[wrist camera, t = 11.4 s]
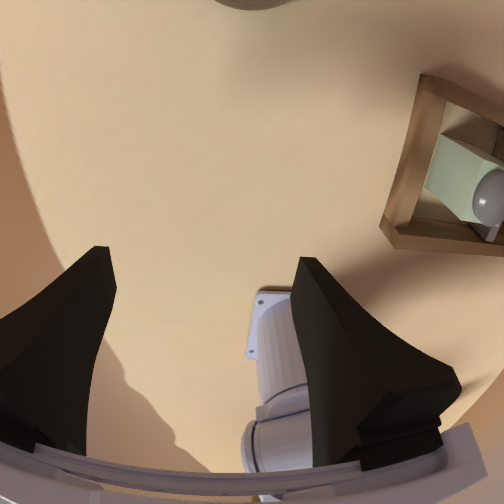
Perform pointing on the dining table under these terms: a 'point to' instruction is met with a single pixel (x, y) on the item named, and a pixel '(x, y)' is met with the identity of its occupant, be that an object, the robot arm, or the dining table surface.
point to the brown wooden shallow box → (415, 168)
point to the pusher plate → (502, 153)
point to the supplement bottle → (252, 4)
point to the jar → (467, 181)
